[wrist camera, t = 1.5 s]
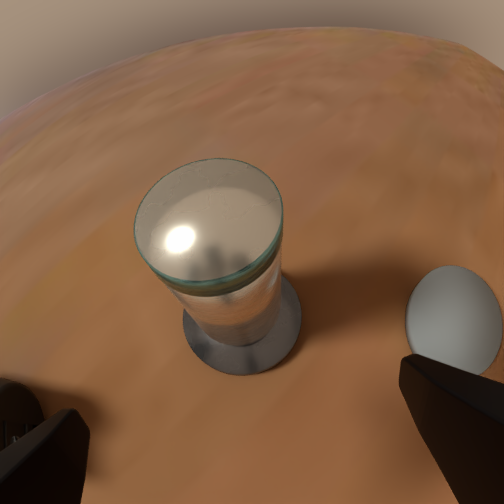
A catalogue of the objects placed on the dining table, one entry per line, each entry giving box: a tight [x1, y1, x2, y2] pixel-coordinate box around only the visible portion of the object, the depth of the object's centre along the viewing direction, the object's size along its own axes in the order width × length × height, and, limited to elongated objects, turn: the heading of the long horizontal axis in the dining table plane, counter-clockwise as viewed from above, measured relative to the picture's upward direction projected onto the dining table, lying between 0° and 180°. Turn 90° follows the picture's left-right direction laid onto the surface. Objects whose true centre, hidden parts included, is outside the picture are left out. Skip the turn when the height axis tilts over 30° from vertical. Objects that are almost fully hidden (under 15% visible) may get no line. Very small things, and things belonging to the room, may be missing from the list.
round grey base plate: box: [183, 275, 302, 376], centre depth 19 cm, size 8×8×3 cm
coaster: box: [405, 265, 502, 375], centre depth 18 cm, size 9×9×1 cm
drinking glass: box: [134, 158, 283, 346], centre depth 14 cm, size 5×5×9 cm
